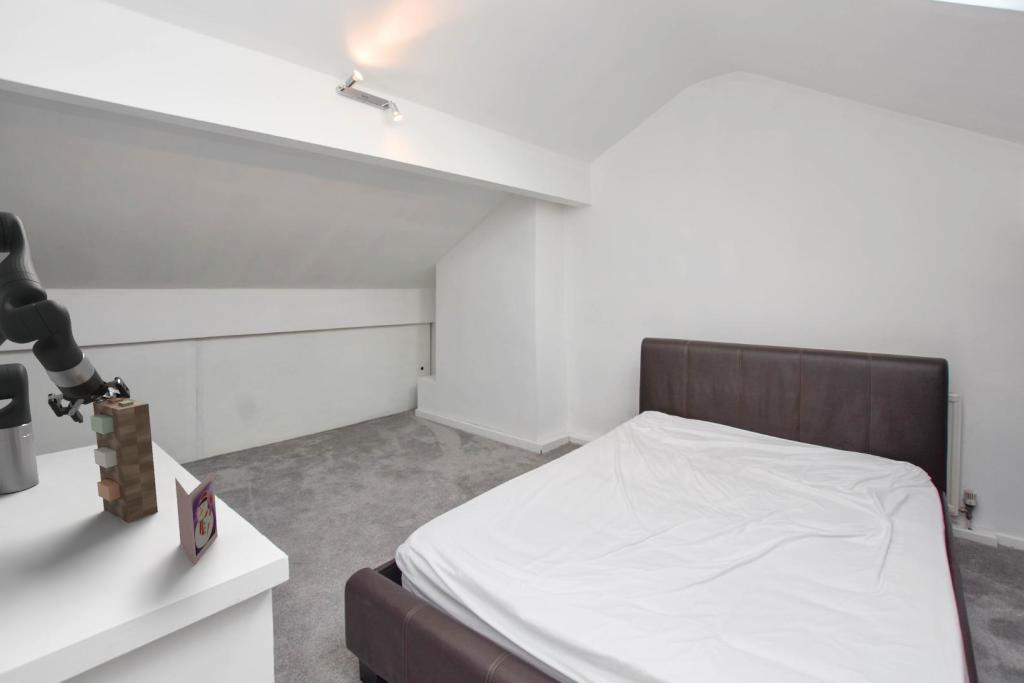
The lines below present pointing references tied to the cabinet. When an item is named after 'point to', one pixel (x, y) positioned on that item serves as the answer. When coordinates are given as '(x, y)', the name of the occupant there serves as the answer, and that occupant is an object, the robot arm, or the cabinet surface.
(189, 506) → the greeting card
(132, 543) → the cabinet surface
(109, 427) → the key top
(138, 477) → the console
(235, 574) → the cabinet surface
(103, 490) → the block
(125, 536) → the cabinet surface
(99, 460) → the key middle
